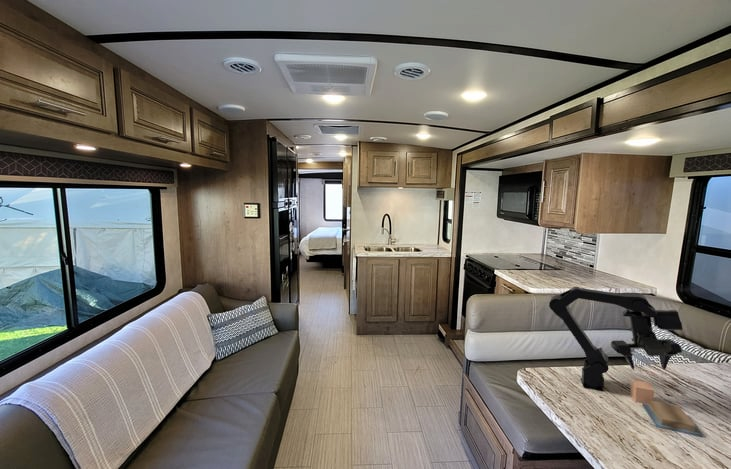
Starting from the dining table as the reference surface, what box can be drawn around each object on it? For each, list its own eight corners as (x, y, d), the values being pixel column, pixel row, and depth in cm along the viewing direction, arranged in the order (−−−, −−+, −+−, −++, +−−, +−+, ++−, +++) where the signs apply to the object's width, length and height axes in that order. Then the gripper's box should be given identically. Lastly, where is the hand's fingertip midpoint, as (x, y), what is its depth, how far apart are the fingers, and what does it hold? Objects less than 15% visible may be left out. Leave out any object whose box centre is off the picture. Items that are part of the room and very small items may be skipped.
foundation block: (656, 426, 97) (656, 418, 97) (642, 405, 107) (642, 398, 106) (702, 437, 92) (703, 428, 92) (683, 414, 102) (684, 406, 102)
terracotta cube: (635, 402, 109) (636, 387, 108) (630, 394, 113) (631, 379, 113) (653, 405, 107) (654, 390, 106) (647, 397, 111) (648, 382, 110)
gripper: (622, 337, 103) (629, 380, 103) (690, 335, 97) (697, 380, 97) (607, 326, 114) (613, 364, 114) (668, 323, 108) (674, 364, 108)
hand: (648, 368), depth 108 cm, fingers open, 9 cm apart
